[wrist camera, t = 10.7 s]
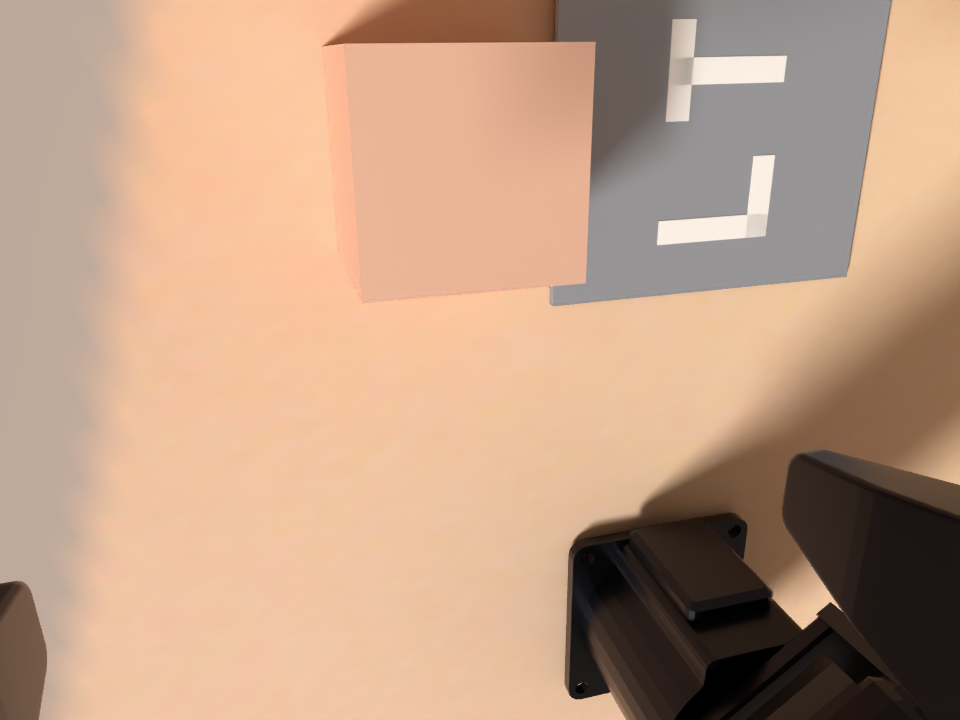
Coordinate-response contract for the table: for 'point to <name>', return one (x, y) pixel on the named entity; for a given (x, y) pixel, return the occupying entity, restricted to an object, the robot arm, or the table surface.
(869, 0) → the tile
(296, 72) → the table surface
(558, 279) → the block
